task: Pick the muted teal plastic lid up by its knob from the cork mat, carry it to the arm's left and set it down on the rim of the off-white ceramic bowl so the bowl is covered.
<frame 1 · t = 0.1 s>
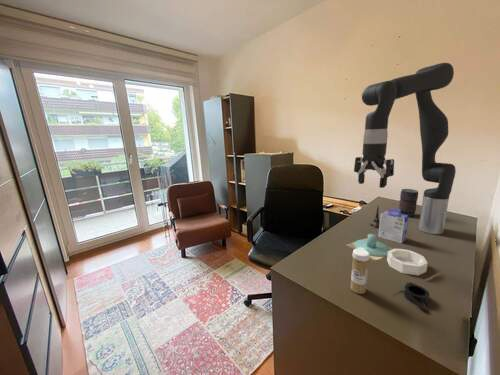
hand: (371, 185, 82), 29 cm above the table, fingers open, 8 cm apart
sprinkles bottle: (358, 290, 69), on the table
bowl: (405, 266, 79), on the table
eiffel tower figurine: (375, 228, 112), on the table
mat: (371, 249, 91), on the table
lid: (371, 248, 91), point 1 cm above the table, touching mat
ink cartridge box: (391, 239, 99), on the table
duct tape: (415, 299, 64), on the table
camera lens: (406, 215, 126), on the table
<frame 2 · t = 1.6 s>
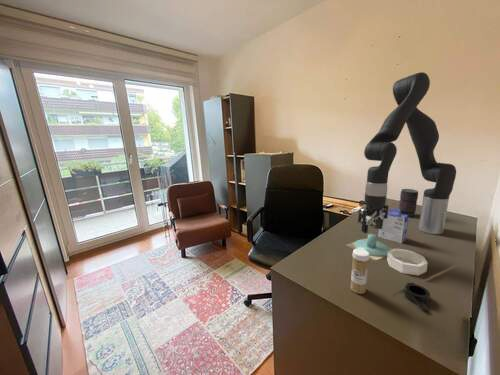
hand: (371, 230, 90), 9 cm above the table, fingers open, 8 cm apart
nothing on the table moved.
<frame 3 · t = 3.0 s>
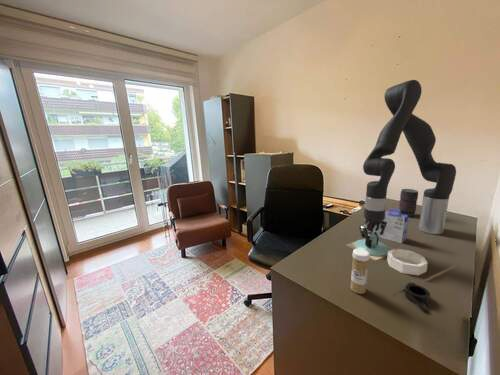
hand: (371, 245, 91), 2 cm above the table, fingers closed on lid, 3 cm apart
lid: (371, 248, 91), point 1 cm above the table, touching gripper, mat
everything else where it was.
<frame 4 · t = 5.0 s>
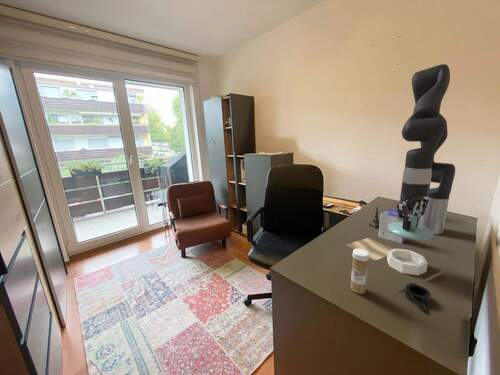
hand: (409, 228, 76), 15 cm above the table, fingers closed on lid, 3 cm apart
lid: (409, 231, 76), point 14 cm above the table, touching gripper
everything else where it was.
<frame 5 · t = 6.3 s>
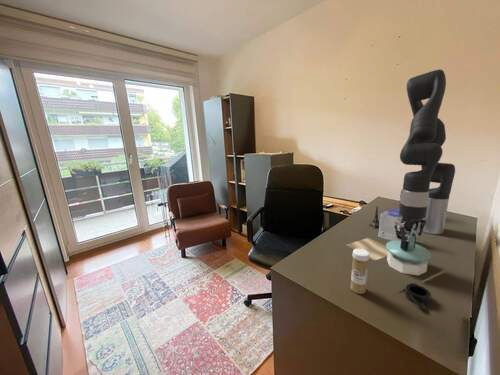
hand: (407, 248, 77), 7 cm above the table, fingers closed on lid, 3 cm apart
lid: (407, 251, 77), point 6 cm above the table, touching gripper
everything else where it was.
when the fingers open (6 cm above the table, at t = 7.3 s): lid stays where it is, resting on bowl.
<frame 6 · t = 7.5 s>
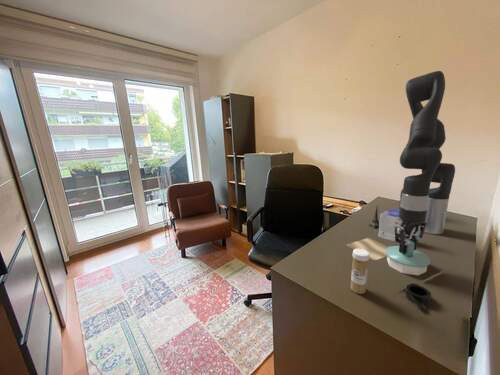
hand: (407, 250, 77), 6 cm above the table, fingers open, 5 cm apart
lid: (406, 256, 78), point 4 cm above the table, touching bowl
everything else where it was.
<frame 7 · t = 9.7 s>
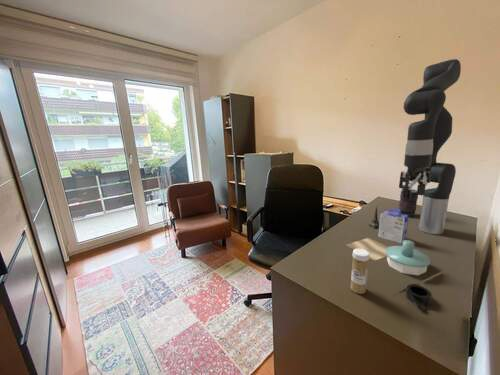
hand: (413, 197, 79), 25 cm above the table, fingers open, 8 cm apart
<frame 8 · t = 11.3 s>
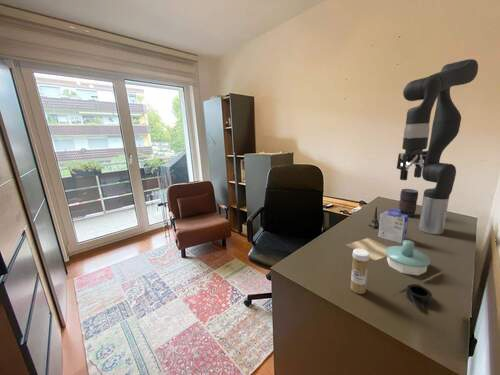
hand: (410, 178, 84), 30 cm above the table, fingers open, 8 cm apart
at the end: lid 0.1 cm off-centre on the bowl, point 4.0 cm above the bowl's base; lid tilted 0°; the gripper is holding nothing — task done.
